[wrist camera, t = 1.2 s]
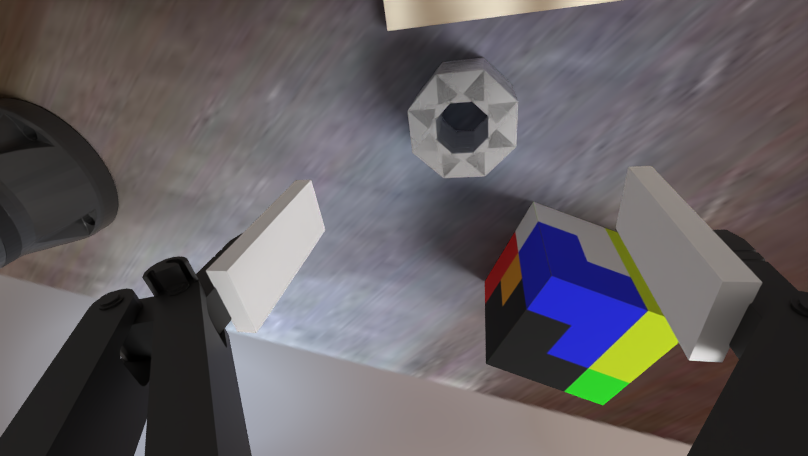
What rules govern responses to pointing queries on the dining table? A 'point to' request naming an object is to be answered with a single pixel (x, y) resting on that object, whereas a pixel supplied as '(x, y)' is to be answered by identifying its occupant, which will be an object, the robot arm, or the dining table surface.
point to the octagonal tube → (466, 147)
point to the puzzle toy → (571, 308)
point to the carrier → (464, 10)
